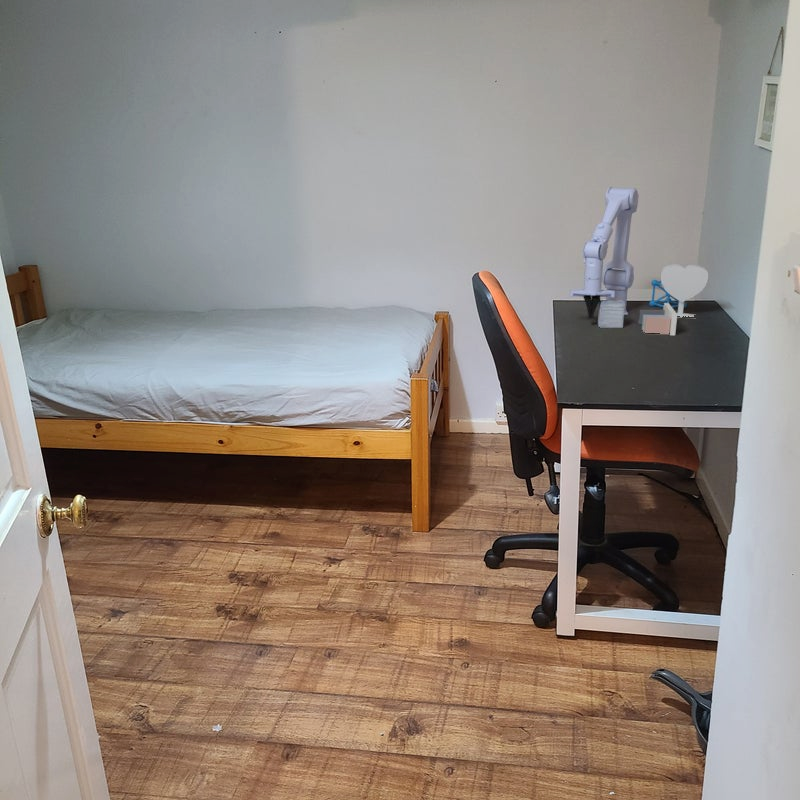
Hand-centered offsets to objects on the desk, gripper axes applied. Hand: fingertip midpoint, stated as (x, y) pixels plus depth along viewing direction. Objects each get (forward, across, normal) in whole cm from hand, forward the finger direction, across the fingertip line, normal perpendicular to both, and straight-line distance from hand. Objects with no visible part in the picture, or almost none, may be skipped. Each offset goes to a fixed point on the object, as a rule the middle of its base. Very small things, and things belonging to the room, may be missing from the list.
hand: (590, 317), depth 273 cm
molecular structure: (+3, +31, +30) cm, 43 cm away
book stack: (+3, +21, -1) cm, 22 cm away
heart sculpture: (+3, +33, +17) cm, 37 cm away
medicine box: (+3, +7, 0) cm, 7 cm away
